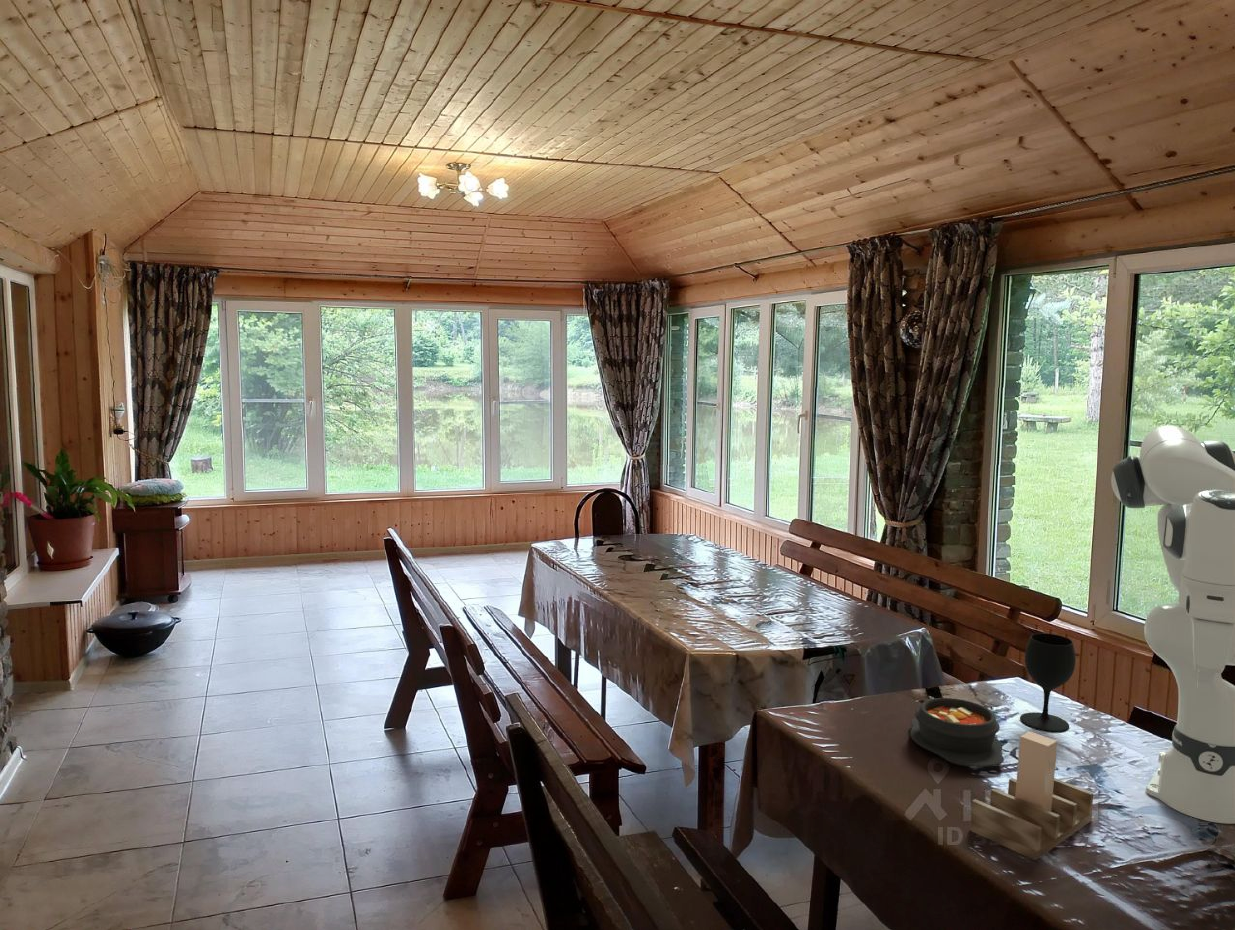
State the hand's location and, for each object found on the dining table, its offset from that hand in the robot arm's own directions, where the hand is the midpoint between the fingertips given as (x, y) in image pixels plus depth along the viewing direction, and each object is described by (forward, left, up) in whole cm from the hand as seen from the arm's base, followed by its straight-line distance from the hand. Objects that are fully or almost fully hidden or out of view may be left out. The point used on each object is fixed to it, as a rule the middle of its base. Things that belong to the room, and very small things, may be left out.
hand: (1202, 681), depth 142 cm
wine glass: (-57, -26, -34) cm, 71 cm away
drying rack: (-6, -23, -34) cm, 41 cm away
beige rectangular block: (-6, -23, -32) cm, 40 cm away
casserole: (-32, -41, -34) cm, 62 cm away
